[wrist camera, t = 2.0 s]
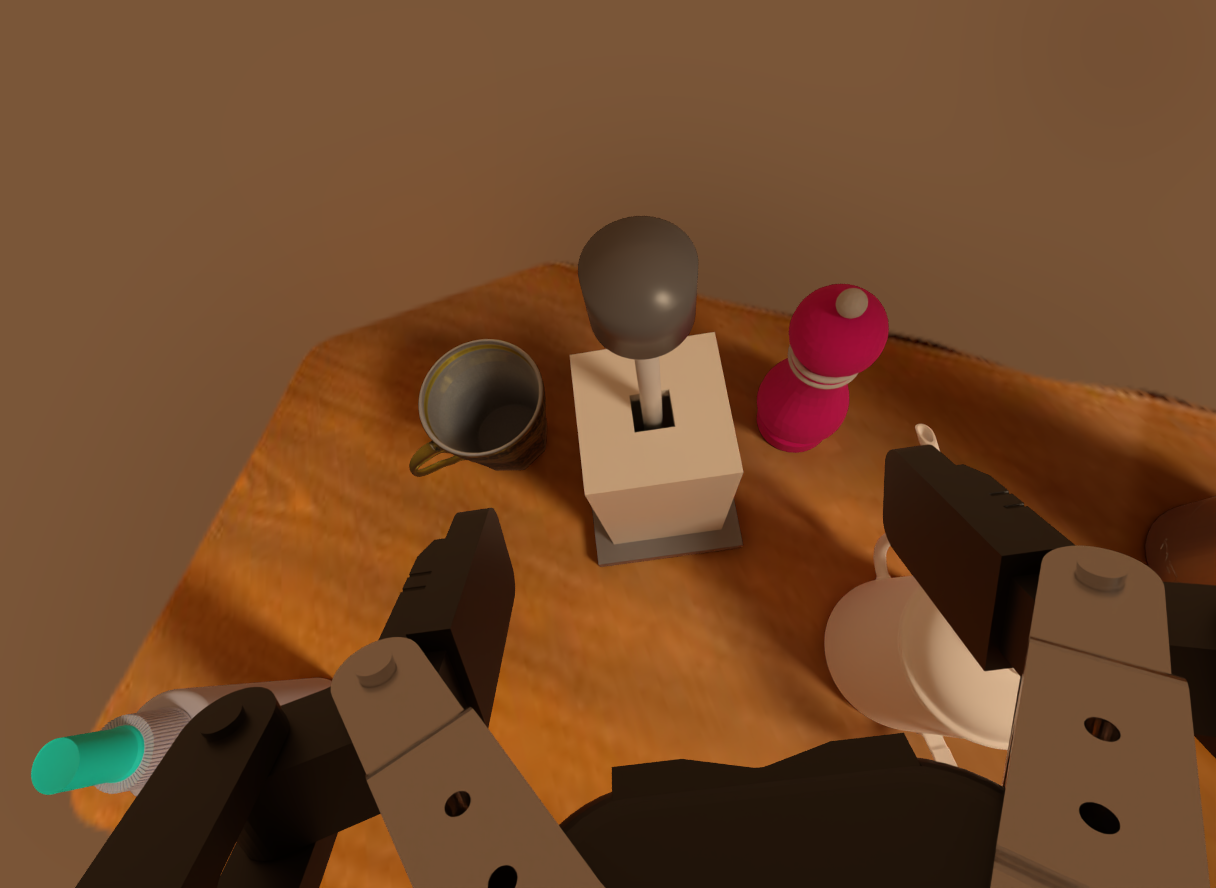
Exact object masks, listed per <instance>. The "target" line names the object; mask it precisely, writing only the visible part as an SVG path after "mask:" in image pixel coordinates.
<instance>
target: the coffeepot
mask: <svg viewBox="0 0 1216 888" xmlns="http://www.w3.org/2000/svg"><path fill="white" fill-rule="evenodd" d="M915 429H916V432H917V436H918V439H919V442H920V445H927V444H930V445H933V446H934V447H935V448H937V449H938V450H939V446H938V443H937V440H936V437H935V434H934V432H933V430H932V429H931V428H930V427H929V426H927V425H925V424H917V425H916V426H915ZM939 451H940V450H939ZM889 546H890V543H889V541H888V539H887V536H886V533H885V534H884V535H882V536H881V537H880V538H879V539H878V541H877V543H876V545H875V549H874V566H875V571H876V576H877V577H876V580H873V581H869V582H866V583H863V584H861V585H859V586H857V587H855V588H854V589H852V590H851V591H849V592H848V593H847V594H846V595H844V596H843V597H842V598H841V599H840V601H839V602H838V603H837V604H836V606H835V607H834V609H833V611H832V612H831V615H830V617H829V619H828V622H827V626H826V630H825V638H824V649H825V657H826V661H827V665H828V668H829V671H830V674H831V676H832V678H833V680H834V682H835V684H836V686H837V687H838V689H839V690H840V692H841V693H842V694H843V696H844V697H845V698H846V699H847V700H848V702H849V703H850V704H851V705H852V706H854V707H855V708H856V709H857V710H858V711H859V712H861V713H862V714H863V715H865V716H866V717H868V718H870V719H871V720H873V721H875V722H877V723H879V724H882V725H884V726H887V727H890V728H894V729H898V730H904V731H912V732H916V733H917V734H921V735H922V736H923V737H924V739H925V741H926V743H927V745H928V747H929V750H930V752H931V754H932V756H933V759H934V761H938V762H942V763H946V764H950V765H953V766H956V767H958V766H957V764H956V762H955V760H954V758H953V756H952V754H951V752H950V750H949V748H948V747H947V745H946V743H945V741H944V739H943V737H942V736H948V737H956V738H963V739H967V740H969V741H971V742H974V743H977V744H980V745H983V746H987V747H991V748H996V749H1004V750H1007V751H1008V745H1009V739H1010V733H1011V727H1012V721H1013V715H1014V709H1015V703H1016V697H1017V692H1018V686H1019V681H1020V676H1019V674H1018V673H1017V672H1016V671H1015V669H1014V668H1009V669H1001V670H992V671H984V670H983V669H982V668H981V666H980V665H979V664H978V662H977V661H976V660H975V658H974V657H973V656H972V654H971V653H970V652H969V650H968V649H967V648H966V646H965V645H964V644H963V642H962V641H961V640H960V638H959V637H958V636H957V634H956V633H955V632H954V630H953V629H952V627H951V626H950V625H949V623H948V622H947V621H946V619H945V618H944V617H943V615H942V614H941V613H940V611H939V610H938V609H937V607H936V606H935V605H934V603H933V602H932V601H931V599H930V598H929V597H928V595H927V594H926V593H925V591H924V590H923V589H922V587H921V586H920V585H919V583H918V582H917V581H916V579H915V578H914V577H913V576H905V577H895V578H891V576H890V575H889V574H888V569H887V563H886V553H887V550H888V548H889Z"/></svg>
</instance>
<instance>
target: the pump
mask: <svg viewBox="0 0 1216 888" xmlns="http://www.w3.org/2000/svg"><path fill="white" fill-rule="evenodd" d="M578 277H579V282H580V286H581V289H582V293H583V297H584V301H585V305H586V308H587V312H588V316H589V320H590V324H591V327H592V330H593V332H594V334H595V336H596V338H597V339H598V341H599V342H600V343H601V344H602V345H603V346H604V347H605V348H606V349H608V350H609V351H611V352H612V353H614V354H616V355H619V356H621V357H624V358H628V359H634V360H635V367H636V374H637V381H638V388H639V395H640V402H641V409H642V416H643V423H644V430H645V431H649V430H655V429H662V428H663V415H662V397H661V380H660V362H659V356H662V355H665V354H667V353H669V352H671V351H672V350H674V349H675V348H677V347H678V346H679V345H680V344H681V343H682V342H683V341H684V340H685V339H686V337H687V336H688V335H689V333H690V331H691V329H692V327H693V324H694V320H695V312H696V295H697V278H698V256H697V252H696V249H695V247H694V245H693V243H692V241H691V240H690V238H689V237H688V236H687V234H686V233H685V232H683V231H682V230H681V229H680V228H679V227H677V226H676V225H674V224H673V223H670V222H668V221H666V220H663V219H660V218H656V217H650V216H634V217H627V218H623V219H620V220H617V221H614V222H612V223H610V224H608V225H606V226H605V227H604V228H602V229H600V230H599V231H598V232H596V233H595V234H594V236H592V237H591V238H590V240H589V241H588V242H587V244H586V245H585V247H584V249H583V251H582V253H581V255H580V259H579V264H578Z"/></svg>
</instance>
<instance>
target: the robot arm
mask: <svg viewBox="0 0 1216 888" xmlns="http://www.w3.org/2000/svg"><path fill="white" fill-rule="evenodd" d="M883 524H884V529H885V533H886V536H887V539H888V541H889V543H890V545H891V547H892V548H893V550H894V551H895V552H896V554H897V555H898V556H899V558H900V559H901V560H902V562H903V563H904V564H905V566H906V567H907V568H908V570H909V571H910V572H911V574H912V575H913V577H914V578H915V579H916V581H917V582H918V583H919V585H920V586H921V587H922V589H923V590H924V591H925V593H926V594H927V595H928V597H929V598H930V599H931V601H932V602H933V603H934V605H935V606H936V607H937V609H938V610H939V611H940V613H941V614H942V615H943V617H944V618H945V619H946V621H947V622H948V623H949V625H950V626H951V627H952V629H953V630H954V632H955V633H956V634H957V636H958V637H959V638H960V640H961V641H962V642H963V644H964V645H965V646H966V648H967V649H968V650H969V652H970V653H971V654H972V656H973V657H974V658H975V660H976V661H977V662H978V664H979V665H980V666H981V668H982V669H983V670H984V671H992V670H1001V669H1009V668H1014V669H1015V671H1016V672H1017V673H1018V674H1019V676H1020V681H1019V686H1018V692H1017V697H1016V703H1015V709H1014V715H1013V721H1012V727H1011V733H1010V739H1009V745H1008V751H1007V757H1006V763H1005V769H1004V775H1003V780H1002V786H1000V785H999V784H997V783H995V782H993V781H991V780H989V779H987V778H984V777H982V776H980V775H977V774H975V773H973V772H970V771H968V770H965V769H962V768H959V767H956V766H953V765H950V764H946V763H942V762H938V761H933V760H929V759H923V758H917V757H916V755H915V754H914V752H913V750H912V748H911V746H910V744H909V742H908V740H907V738H906V736H905V735H904V733H898V734H890V735H881V736H873V737H864V738H856V739H847V740H839V741H830V742H828V743H825V744H823V745H820V746H817V747H815V748H812V749H810V750H807V751H804V752H802V753H799V754H797V755H794V756H792V757H789V758H786V759H784V760H781V761H779V762H776V763H774V764H771V765H768V766H765V767H760V768H751V767H743V766H735V765H726V764H718V763H710V762H702V761H694V760H686V759H677V760H669V761H660V762H652V763H643V764H635V765H626V766H618V767H612V792H610V793H608V794H605V795H603V796H600V797H599V798H597V799H595V800H593V801H591V802H589V803H587V804H585V805H584V806H583V807H581V808H580V809H578V810H577V811H575V812H574V813H573V814H571V815H570V816H569V817H568V818H566V819H565V820H564V821H563V822H562V823H561V824H560V825H558V824H557V822H556V821H555V820H554V818H553V817H552V816H551V814H550V813H549V811H548V810H547V809H546V807H545V806H544V805H543V803H542V802H541V800H540V799H539V798H538V796H537V795H536V794H535V792H534V791H533V790H532V788H531V787H530V785H529V784H528V783H527V781H526V780H525V779H524V777H523V776H522V775H521V773H520V772H519V770H518V769H517V768H516V766H515V765H514V764H513V762H512V761H511V759H510V758H509V757H508V755H507V754H506V753H505V751H504V750H503V749H502V747H501V746H500V744H499V743H498V742H497V740H496V739H495V738H494V736H493V735H492V733H491V732H490V731H489V729H488V727H489V722H490V717H491V712H492V707H493V702H494V697H495V692H496V687H497V682H498V677H499V672H500V667H501V662H502V657H503V652H504V647H505V642H506V637H507V632H508V627H509V622H510V617H511V612H512V607H513V603H514V597H515V580H514V572H513V568H512V564H511V561H510V557H509V554H508V550H507V547H506V543H505V540H504V537H503V533H502V530H501V526H500V523H499V519H498V516H497V514H496V512H495V510H494V509H493V508H487V509H480V510H473V511H467V512H460V513H457V514H456V515H455V517H454V519H453V521H452V524H451V526H450V529H449V531H448V533H447V536H446V538H444V539H438V540H434V541H433V542H432V543H431V544H430V545H429V546H428V547H427V548H426V549H425V550H424V551H423V552H422V553H421V554H420V555H419V556H418V557H417V559H416V561H415V563H414V565H413V567H412V569H411V572H410V574H409V575H410V577H409V578H407V580H406V582H405V584H404V587H403V592H401V593H400V595H399V597H398V600H397V602H396V604H395V606H394V608H393V610H392V612H391V615H390V617H389V619H388V621H387V623H386V625H385V627H384V630H383V632H382V634H381V636H380V638H379V640H378V641H376V642H373V643H371V644H369V645H367V646H365V647H363V648H361V649H360V650H358V651H356V652H355V653H354V654H353V655H351V656H350V657H349V658H348V659H347V660H346V661H345V662H344V663H343V664H342V665H341V666H340V667H339V669H338V670H337V672H336V673H335V675H334V677H333V679H332V683H331V687H328V688H326V689H324V690H321V691H318V692H316V693H313V694H311V695H308V696H305V697H303V698H300V699H297V700H295V701H292V702H289V703H287V704H284V705H281V706H280V704H279V702H278V700H277V699H276V697H275V695H274V694H273V692H272V691H270V690H269V689H267V688H263V687H249V688H244V689H240V690H237V691H234V692H232V693H229V694H227V695H225V696H223V697H221V698H219V699H217V700H216V701H214V702H213V703H211V704H209V705H208V706H207V707H205V708H204V709H203V710H201V711H200V712H199V713H198V714H197V715H195V716H194V717H193V718H192V719H191V720H190V721H189V722H188V723H187V724H186V726H185V727H184V728H183V729H182V731H181V732H180V733H179V735H178V736H177V738H176V739H175V741H174V742H173V744H172V745H171V747H170V748H169V750H168V751H167V753H166V754H165V756H164V757H163V759H162V760H161V762H160V763H159V764H158V766H157V767H156V769H155V770H154V772H153V773H152V775H151V776H150V778H149V779H148V781H147V782H146V784H145V785H144V787H143V788H142V790H141V791H140V793H139V794H138V796H137V797H136V798H135V800H134V801H133V803H132V804H131V806H130V807H129V809H128V810H127V812H126V813H125V815H124V816H123V818H122V819H121V821H120V822H119V824H118V825H117V827H116V828H115V829H114V831H113V832H112V834H111V835H110V837H109V838H108V840H107V842H106V843H105V844H104V846H103V847H102V849H101V851H100V852H99V853H98V855H97V856H96V858H95V859H94V861H93V862H92V864H91V865H90V866H89V868H88V869H87V871H86V872H85V874H84V875H83V877H82V878H81V880H80V881H79V883H78V884H77V886H76V887H75V888H319V887H320V884H321V881H322V878H323V875H324V872H325V869H326V866H327V863H328V860H329V857H330V854H331V851H332V848H333V845H334V842H335V839H336V837H337V834H338V832H339V831H342V830H344V829H346V828H349V827H351V826H353V825H356V824H358V823H360V822H362V821H365V820H367V819H369V818H372V817H374V816H376V815H378V814H381V815H382V817H383V820H384V822H385V824H386V827H387V829H388V831H389V833H390V836H391V838H392V840H393V843H394V845H395V847H396V850H397V852H398V854H399V856H400V859H401V861H402V863H403V866H404V868H405V870H406V873H407V875H408V877H409V880H410V882H411V884H412V886H413V888H1210V883H1209V874H1208V864H1207V855H1206V845H1205V836H1204V826H1203V817H1202V807H1201V798H1200V788H1199V779H1198V769H1197V760H1196V750H1195V741H1194V736H1195V737H1196V738H1197V739H1198V740H1199V741H1200V742H1201V743H1202V745H1203V746H1204V747H1205V748H1206V749H1207V750H1208V751H1209V752H1210V753H1211V754H1212V755H1213V756H1214V757H1215V758H1216V496H1214V497H1211V498H1207V499H1203V500H1200V501H1196V502H1193V503H1189V504H1186V505H1182V506H1179V507H1176V508H1173V509H1170V510H1168V511H1167V512H1165V513H1164V514H1162V515H1161V516H1159V517H1158V518H1157V520H1156V521H1155V522H1154V523H1153V524H1152V526H1151V528H1150V530H1149V532H1148V534H1147V539H1146V545H1145V548H1146V559H1147V562H1148V566H1149V567H1148V566H1146V565H1145V564H1143V563H1142V562H1140V561H1138V560H1136V559H1134V558H1132V557H1129V556H1127V555H1124V554H1122V553H1119V552H1115V551H1112V550H1108V549H1104V548H1098V547H1092V546H1076V545H1074V544H1073V543H1072V542H1071V541H1070V540H1068V539H1067V538H1066V537H1065V536H1063V535H1062V534H1061V533H1060V532H1059V531H1057V530H1056V529H1055V528H1054V527H1052V526H1051V525H1050V524H1049V523H1047V522H1046V521H1045V520H1044V519H1043V518H1041V517H1040V516H1039V515H1038V514H1036V513H1035V512H1034V511H1033V510H1032V509H1030V508H1029V507H1028V506H1026V507H1025V506H1024V503H1023V502H1022V501H1021V500H1019V499H1018V498H1017V497H1016V496H1014V495H1013V494H1009V492H1008V490H1007V489H1006V488H1005V487H1003V486H1002V485H1001V484H1000V483H998V482H997V481H996V480H995V479H994V478H992V477H991V476H990V475H987V474H985V473H983V472H980V471H978V470H976V469H973V468H971V467H968V466H966V465H964V464H962V465H955V464H954V463H953V462H952V461H950V460H949V459H948V458H947V457H946V456H945V455H943V454H942V453H941V452H940V451H939V450H938V449H937V448H935V447H934V446H933V445H930V444H927V445H920V446H914V447H907V448H900V449H893V450H890V451H889V452H888V453H887V455H886V459H885V477H884V501H883ZM236 842H237V843H236ZM235 843H236V845H235ZM234 846H235V847H234ZM233 848H234V849H233ZM232 850H233V851H232ZM231 852H232V853H231ZM230 854H231V855H230ZM229 856H230V857H229ZM228 858H229V859H228ZM227 860H228V861H227ZM226 862H227V863H226ZM225 864H226V865H225ZM224 866H225V867H224ZM223 868H224V870H223ZM222 870H223V872H222ZM221 873H222V874H221ZM220 875H221V876H220Z"/></svg>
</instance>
